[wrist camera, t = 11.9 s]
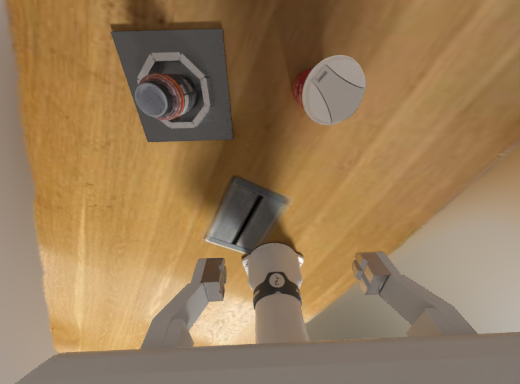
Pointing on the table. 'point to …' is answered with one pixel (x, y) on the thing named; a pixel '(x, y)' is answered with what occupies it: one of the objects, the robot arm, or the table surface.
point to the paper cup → (331, 89)
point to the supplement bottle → (165, 95)
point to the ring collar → (188, 65)
